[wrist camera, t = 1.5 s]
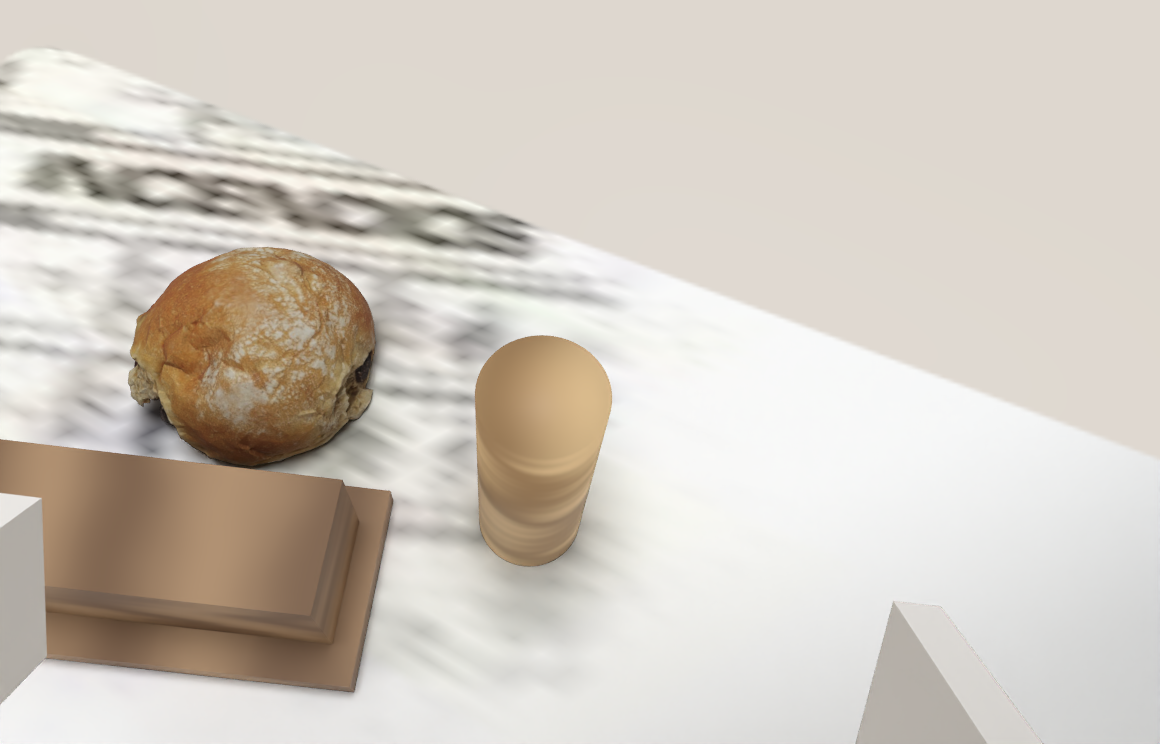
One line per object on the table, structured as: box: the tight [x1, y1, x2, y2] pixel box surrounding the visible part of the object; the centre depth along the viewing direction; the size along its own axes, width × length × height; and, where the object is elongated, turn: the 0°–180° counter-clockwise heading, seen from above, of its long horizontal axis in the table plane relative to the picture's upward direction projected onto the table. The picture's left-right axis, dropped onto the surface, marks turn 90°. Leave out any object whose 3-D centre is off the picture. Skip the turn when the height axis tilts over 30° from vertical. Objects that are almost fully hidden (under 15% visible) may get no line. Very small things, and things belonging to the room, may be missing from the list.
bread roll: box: [128, 247, 376, 466], centre depth 39 cm, size 10×10×8 cm
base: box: [0, 439, 393, 692], centre depth 34 cm, size 16×8×6 cm, turn 85°
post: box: [475, 335, 612, 566], centre depth 34 cm, size 4×4×12 cm
